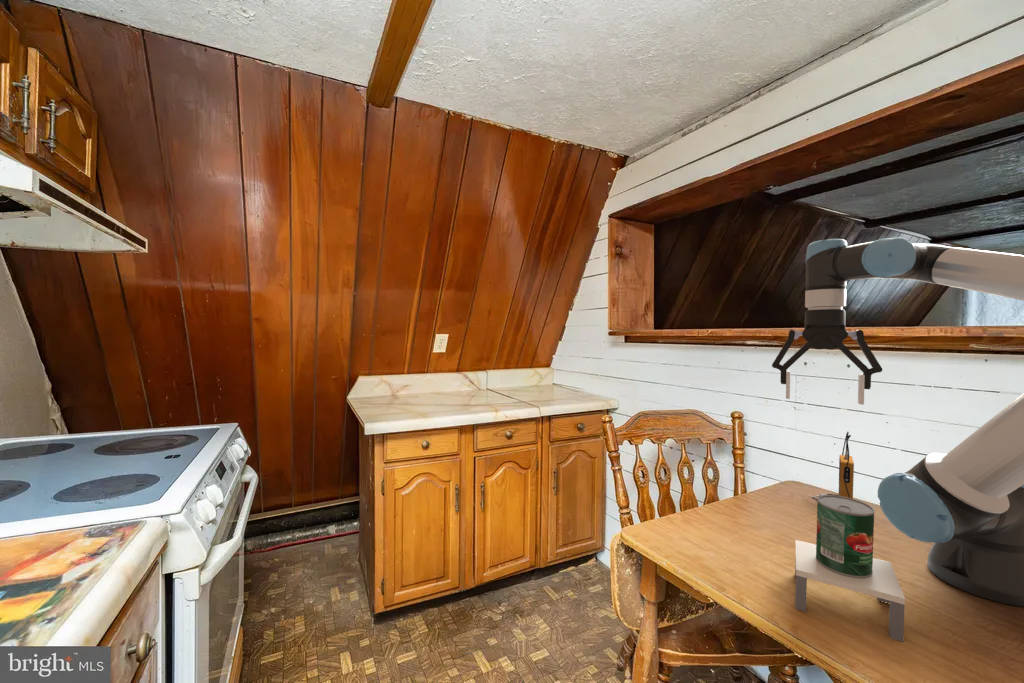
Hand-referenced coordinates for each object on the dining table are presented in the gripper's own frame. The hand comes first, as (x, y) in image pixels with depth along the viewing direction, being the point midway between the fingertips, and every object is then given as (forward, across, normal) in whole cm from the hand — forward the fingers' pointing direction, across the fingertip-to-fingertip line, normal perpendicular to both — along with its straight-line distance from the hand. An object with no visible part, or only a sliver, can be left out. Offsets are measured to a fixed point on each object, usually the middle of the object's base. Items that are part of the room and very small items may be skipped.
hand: (822, 400), depth 97 cm
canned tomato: (+25, -2, +28) cm, 37 cm away
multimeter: (+32, -3, -23) cm, 39 cm away
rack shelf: (+32, -2, +28) cm, 42 cm away
